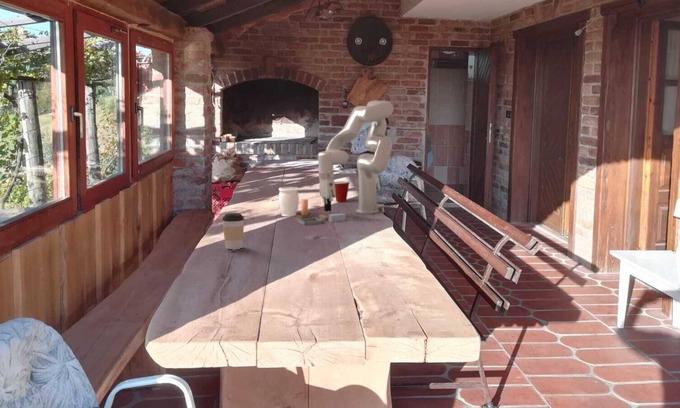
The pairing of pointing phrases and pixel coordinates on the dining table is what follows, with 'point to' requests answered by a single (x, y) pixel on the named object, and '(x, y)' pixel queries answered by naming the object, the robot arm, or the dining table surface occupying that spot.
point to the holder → (304, 216)
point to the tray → (310, 221)
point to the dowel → (304, 207)
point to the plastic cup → (341, 190)
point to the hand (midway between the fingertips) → (327, 210)
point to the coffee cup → (233, 230)
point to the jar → (288, 200)
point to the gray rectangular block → (337, 217)
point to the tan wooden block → (324, 217)
